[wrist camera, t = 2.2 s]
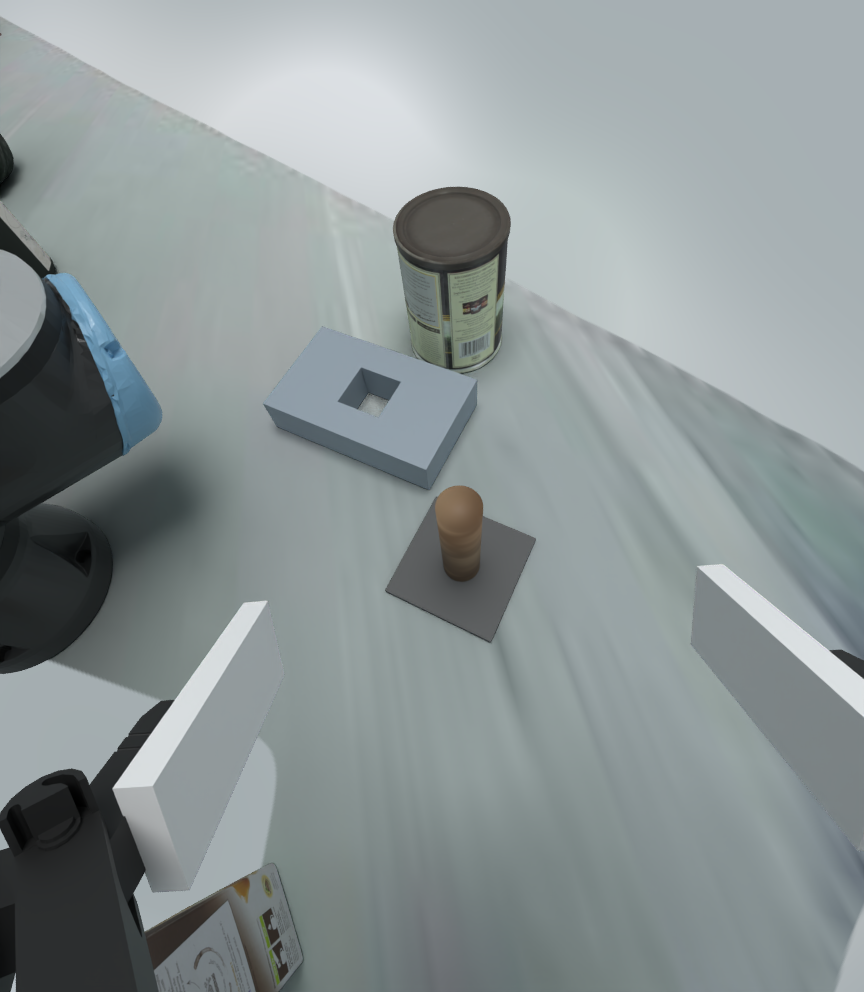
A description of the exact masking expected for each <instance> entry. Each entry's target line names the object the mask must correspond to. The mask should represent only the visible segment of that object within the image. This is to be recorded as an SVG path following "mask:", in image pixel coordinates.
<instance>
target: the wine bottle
mask: <svg viewBox="0 0 864 992" xmlns="http://www.w3.org/2000/svg"><path fill="white" fill-rule="evenodd" d="M0 250H4V251H7V252H9V253H11V254H14V255H16V256H17V257H19V258H20V259H21V260H23V261H24V262H25V263H26V264H28V265H29V266H30V267H31V268H32V269H33V270H34V271H35V272H36V273H37V274H38V275H39V276H40V277H41V278H45V277H46V276H47V275H49V274H54V273H55V268H54V264H53V261H52V260H51V258H50V257H49V256H48V255H47V254H46V252H45V251H44V250H43V249H42V248H41V247H40V245H39V244H38V243H37V242H36V241H35V240H34V239H33V237H32V236H31V235H30V234H29V233H28V232H27V230H26V229H25V228H24V227H23V226H22V225H21V224H20V222H19V221H18V220H17V219H16V218H15V217H14V216H13V214H12V213H11V212H10V211H9V210H8V209H7V207H6V206H5V205H4V204H3V203H2V202H1V201H0Z"/></svg>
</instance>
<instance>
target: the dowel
mask: <svg viewBox="0 0 864 992" xmlns="http://www.w3.org/2000/svg"><path fill="white" fill-rule="evenodd" d="M435 512H436V519H437V525H438V532H439V539H440V546H441V552H442V559H443V566H444V570H445V572H446V574H447V575H448V576H449V577H450V578H451V579H453V580H455V581H459V582H464V581H468V580H470V579H472V578H473V577H474V576H475V575H476V574H477V573H478V571H479V567H480V552H481V535H482V518H483V502H482V499H481V497H480V496H479V494H478V493H477V492H476V491H474V490H473V489H471V488H469V487H466V486H453V487H450V488H447V489H446V490H444V491H443V492H442V493H441V494H440V495H439V496H438V498H437V500H436V503H435Z"/></svg>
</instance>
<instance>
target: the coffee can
mask: <svg viewBox="0 0 864 992" xmlns="http://www.w3.org/2000/svg"><path fill="white" fill-rule="evenodd" d="M510 225H511V222H510V216H509V213H508V211H507V209H506V207H505V206H504V204H503V203H502V202H501V201H500V200H498V199H497V198H496V197H494V196H492V195H491V194H489V193H487V192H484V191H481V190H478V189H474V188H468V187H446V188H440V189H435V190H432V191H428V192H426V193H423V194H421V195H419V196H417V197H415V198H414V199H412V200H411V201H409V202H408V203H407V204H406V205H404V207H403V208H402V209H401V210H400V211H399V213H398V214H397V216H396V218H395V221H394V225H393V233H394V239H395V243H396V245H397V250H398V256H399V263H400V269H401V275H402V281H403V288H404V294H405V301H406V307H407V313H408V320H409V326H410V333H411V345H412V348H413V351H414V353H415V355H416V357H417V358H418V359H419V360H422V361H425V362H427V363H430V364H433V365H436V366H439V367H442V368H445V369H448V370H451V371H454V372H456V373H466V372H469V371H473V370H476V369H478V368H480V367H482V366H484V365H485V364H487V363H488V362H489V361H490V360H491V359H493V358H494V356H495V355H496V353H497V352H498V350H499V348H500V345H501V341H502V334H501V331H502V315H503V300H504V285H505V271H506V257H507V241H508V236H509V233H510Z"/></svg>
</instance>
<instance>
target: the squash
mask: <svg viewBox="0 0 864 992" xmlns="http://www.w3.org/2000/svg"><path fill="white" fill-rule="evenodd" d="M12 169H13V155H12V153H11V150H10V148H9V146H8V144H7V143H6V141H5V140H4V138H3V137H2V135H1V134H0V183H2V181H3V180H4V179H5V178H6V177H8V176H9V174H10V173H11V172H12Z"/></svg>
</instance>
